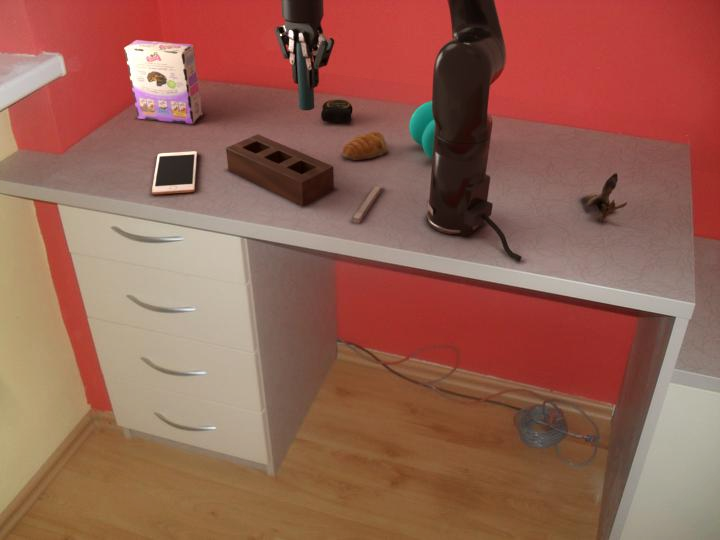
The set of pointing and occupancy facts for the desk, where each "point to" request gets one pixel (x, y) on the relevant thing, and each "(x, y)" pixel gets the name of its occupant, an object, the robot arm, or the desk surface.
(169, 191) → the cell phone
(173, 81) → the candy box
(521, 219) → the desk surface
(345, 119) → the tape measure
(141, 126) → the desk surface
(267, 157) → the hole block
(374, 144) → the pastry
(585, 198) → the eagle figurine
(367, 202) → the beige square stick
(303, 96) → the peg
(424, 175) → the desk surface
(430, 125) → the turquoise lobed shape
